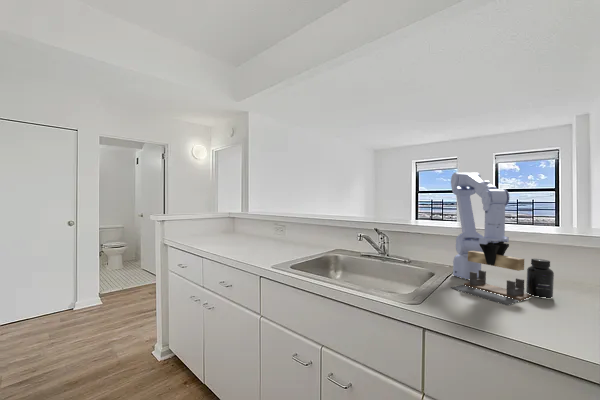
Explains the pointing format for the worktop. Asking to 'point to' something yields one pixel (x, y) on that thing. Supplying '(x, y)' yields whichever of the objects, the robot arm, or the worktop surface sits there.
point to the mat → (485, 294)
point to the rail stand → (511, 290)
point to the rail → (498, 260)
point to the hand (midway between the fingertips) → (493, 264)
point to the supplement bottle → (540, 278)
